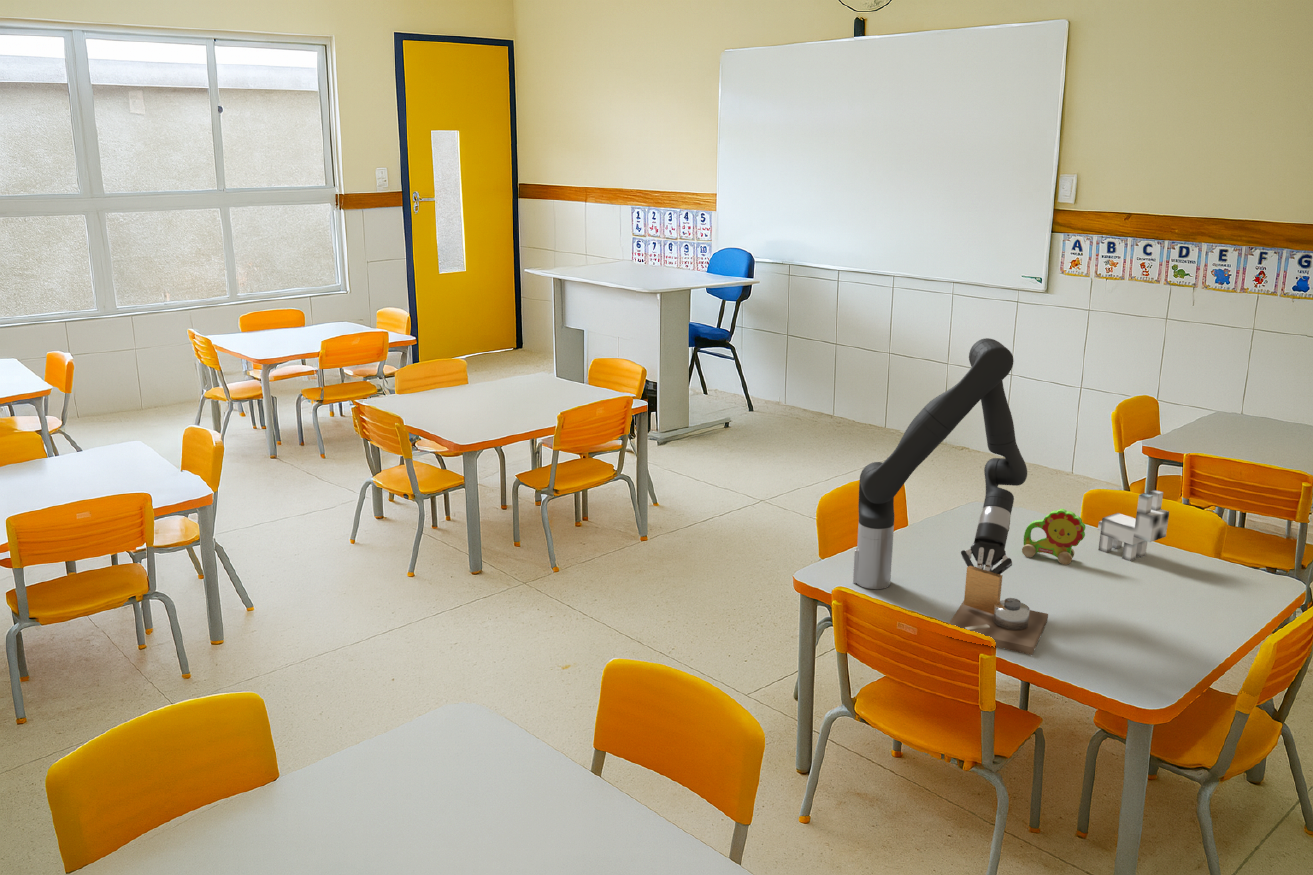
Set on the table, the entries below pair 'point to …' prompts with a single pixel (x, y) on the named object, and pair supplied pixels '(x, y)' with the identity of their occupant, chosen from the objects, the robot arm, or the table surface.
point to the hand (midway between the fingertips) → (979, 590)
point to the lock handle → (994, 599)
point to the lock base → (1003, 637)
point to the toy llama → (1135, 527)
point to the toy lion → (1056, 535)
